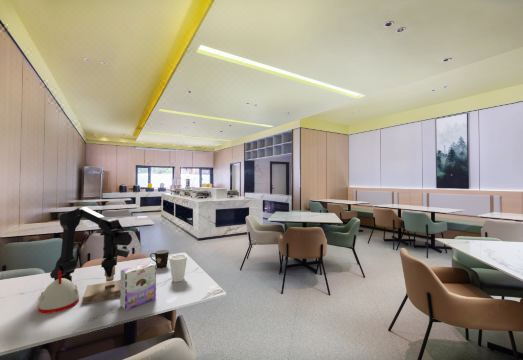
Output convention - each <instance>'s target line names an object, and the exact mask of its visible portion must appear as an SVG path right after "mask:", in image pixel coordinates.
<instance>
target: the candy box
mask: <svg viewBox="0 0 523 360" xmlns="http://www.w3.org/2000/svg"><path fill="white" fill-rule="evenodd" d="M156 275H157V268H156V263H153V262H147V263H142V264H140V265H139V264H138V265H136V266H132V267H128V268H125V269H124V268H123V269H120V280H121V286H120V296H119V297H120V299H119V301H120V302H119V305H120V307H121V308H122V310H124V311H127V310H130V309H133V308H136V307H139V306H140V305H143V304H145V303H147V302H151V301H153V300H156V299H157V288H156V287H157V283H156V282H157V276H156Z"/></svg>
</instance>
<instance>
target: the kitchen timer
mask: <svg viewBox="0 0 523 360" xmlns="http://www.w3.org/2000/svg"><path fill="white" fill-rule="evenodd" d="M39 297H40V298H39V300H38V301H39V303H38V307H37V308H38V309H37V310H38V313H41V314H46V315H47V314H54V313H58V312H62V311H65V310H69V309H71V308H73V307H75V305H77V304H78V303H79V302H80V294H79V289H78V286H77V284H74V283H73V281H72V282H71V281H70V280H68V279H64V278H61V271H59V273H58V279H57V280H55V281H54V280H53V281H52V282H51V283H49V285H48V286H47V287H46V288H45V290H44V291H42V292H41V293H40V296H39Z"/></svg>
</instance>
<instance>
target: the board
mask: <svg viewBox="0 0 523 360" xmlns="http://www.w3.org/2000/svg"><path fill="white" fill-rule="evenodd" d="M120 286H121V279H119V280H118V279H117V280H113V281H109V282H107V281H106V282H101V283H95V284H89V285H86V289H85V291H84V294H83V297H82V304H90V303H93V302H98V301H104V300H109V299H113V298H119V297H120Z"/></svg>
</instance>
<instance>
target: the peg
mask: <svg viewBox="0 0 523 360" xmlns="http://www.w3.org/2000/svg"><path fill="white" fill-rule="evenodd" d="M115 275H116V265H115V266H114V267H113V270H112V274H111V277H108V276H107V274H106V272H105V271H104V277H105V281H106V282H111V281H115V280H114V277H115Z"/></svg>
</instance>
